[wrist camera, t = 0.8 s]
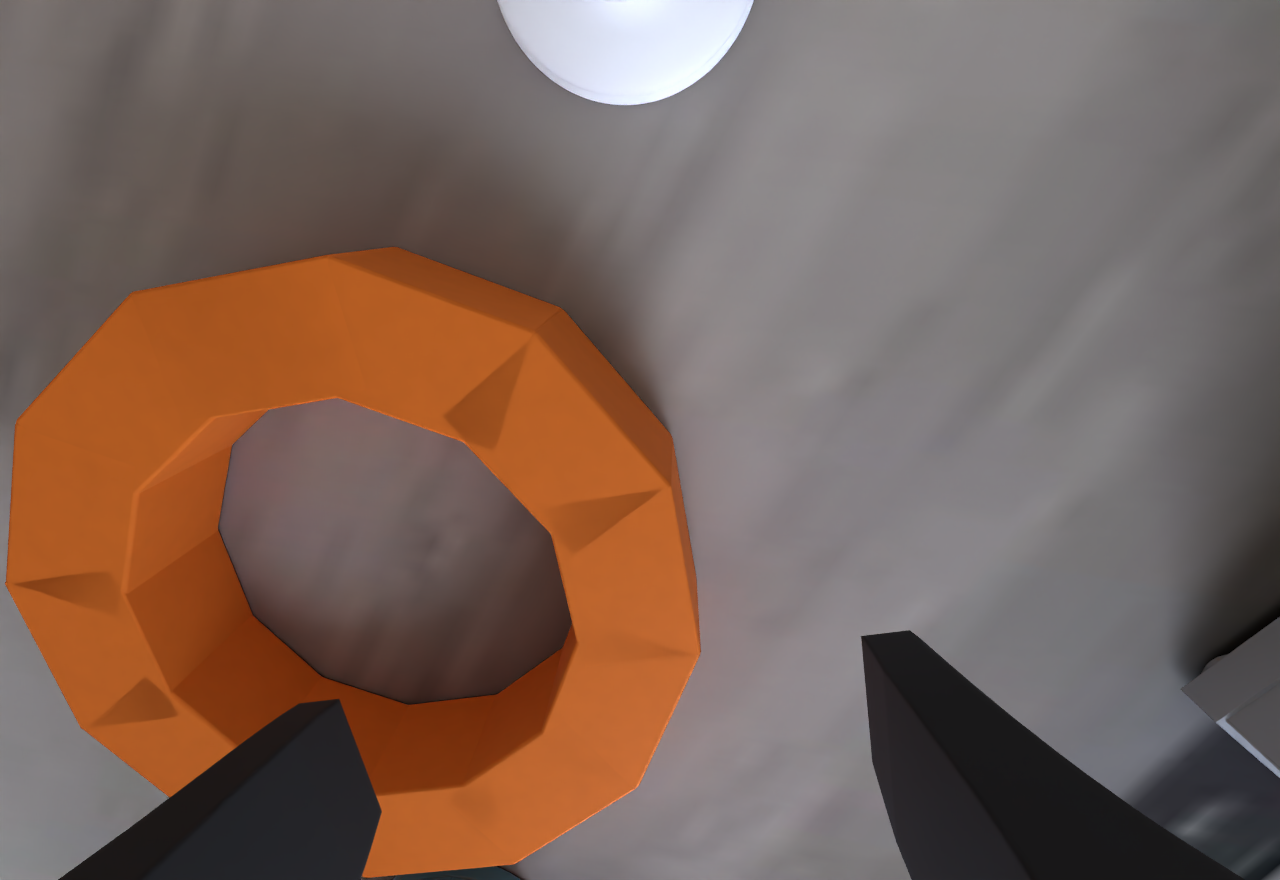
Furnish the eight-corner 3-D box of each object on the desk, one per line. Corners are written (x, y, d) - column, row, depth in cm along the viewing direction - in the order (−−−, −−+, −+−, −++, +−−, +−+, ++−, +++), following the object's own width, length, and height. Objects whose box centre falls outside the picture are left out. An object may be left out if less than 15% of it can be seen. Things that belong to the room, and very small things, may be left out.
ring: (243, 795, 19) (168, 897, 16) (26, 316, 15) (-126, 340, 12) (724, 744, 18) (734, 845, 15) (632, 201, 14) (620, 199, 11)
